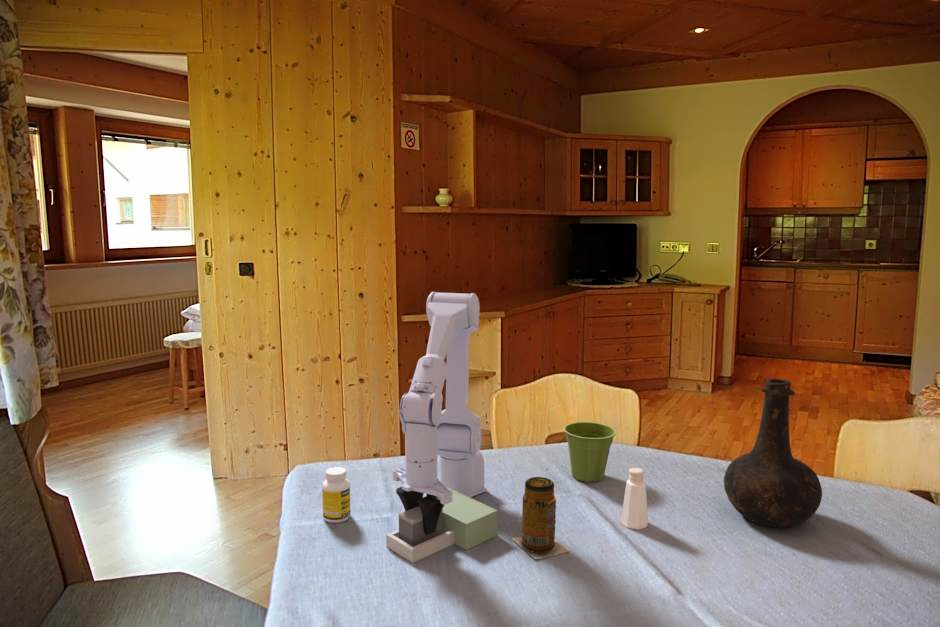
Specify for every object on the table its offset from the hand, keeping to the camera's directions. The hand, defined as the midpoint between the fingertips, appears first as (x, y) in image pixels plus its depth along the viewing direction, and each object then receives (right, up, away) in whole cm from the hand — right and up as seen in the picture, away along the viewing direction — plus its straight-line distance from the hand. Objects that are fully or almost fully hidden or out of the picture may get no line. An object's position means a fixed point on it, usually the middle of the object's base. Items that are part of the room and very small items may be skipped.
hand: (422, 528), depth 122 cm
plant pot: (+36, +2, +31) cm, 48 cm away
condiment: (+22, -4, 0) cm, 22 cm away
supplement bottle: (-18, -2, +11) cm, 21 cm away
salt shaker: (+41, -2, +9) cm, 42 cm away
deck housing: (+3, -3, +3) cm, 5 cm away
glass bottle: (+69, -2, +12) cm, 70 cm away
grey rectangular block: (0, -2, 0) cm, 2 cm away
